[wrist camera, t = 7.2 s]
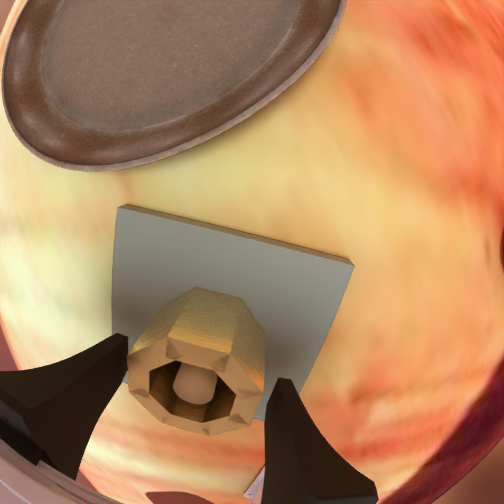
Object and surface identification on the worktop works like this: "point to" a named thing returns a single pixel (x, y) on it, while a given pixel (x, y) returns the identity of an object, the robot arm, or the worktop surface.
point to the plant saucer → (151, 72)
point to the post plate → (226, 290)
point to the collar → (201, 361)
